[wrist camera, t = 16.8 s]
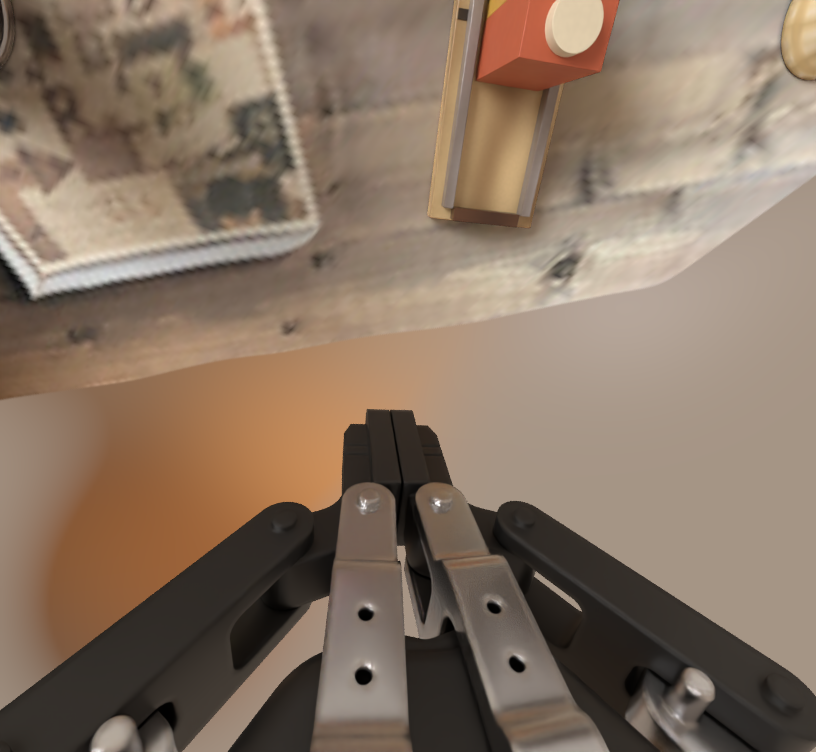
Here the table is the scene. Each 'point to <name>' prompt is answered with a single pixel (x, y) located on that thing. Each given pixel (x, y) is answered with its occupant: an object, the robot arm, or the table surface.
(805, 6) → the hand bell
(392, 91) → the table surface
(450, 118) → the score rail
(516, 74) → the block
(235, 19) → the table surface
